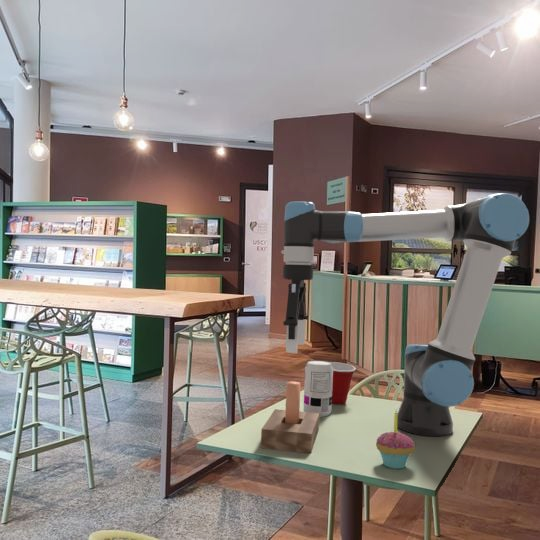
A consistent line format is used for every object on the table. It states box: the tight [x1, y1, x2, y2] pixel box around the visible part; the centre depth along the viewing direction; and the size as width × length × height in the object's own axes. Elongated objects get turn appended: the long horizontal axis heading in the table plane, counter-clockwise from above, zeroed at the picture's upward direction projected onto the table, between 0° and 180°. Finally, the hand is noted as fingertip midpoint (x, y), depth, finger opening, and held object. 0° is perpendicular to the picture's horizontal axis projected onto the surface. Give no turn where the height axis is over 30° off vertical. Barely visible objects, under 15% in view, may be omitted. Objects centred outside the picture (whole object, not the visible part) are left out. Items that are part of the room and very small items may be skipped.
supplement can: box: [303, 360, 333, 418], centre depth 160 cm, size 8×8×15 cm
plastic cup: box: [329, 361, 356, 405], centre depth 174 cm, size 11×11×12 cm
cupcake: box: [375, 412, 416, 470], centre depth 121 cm, size 9×8×12 cm
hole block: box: [260, 408, 320, 454], centre depth 136 cm, size 12×18×4 cm, turn 169°
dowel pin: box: [285, 381, 301, 424], centre depth 136 cm, size 4×4×14 cm
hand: (295, 348), depth 136 cm, fingers open, 13 cm apart
